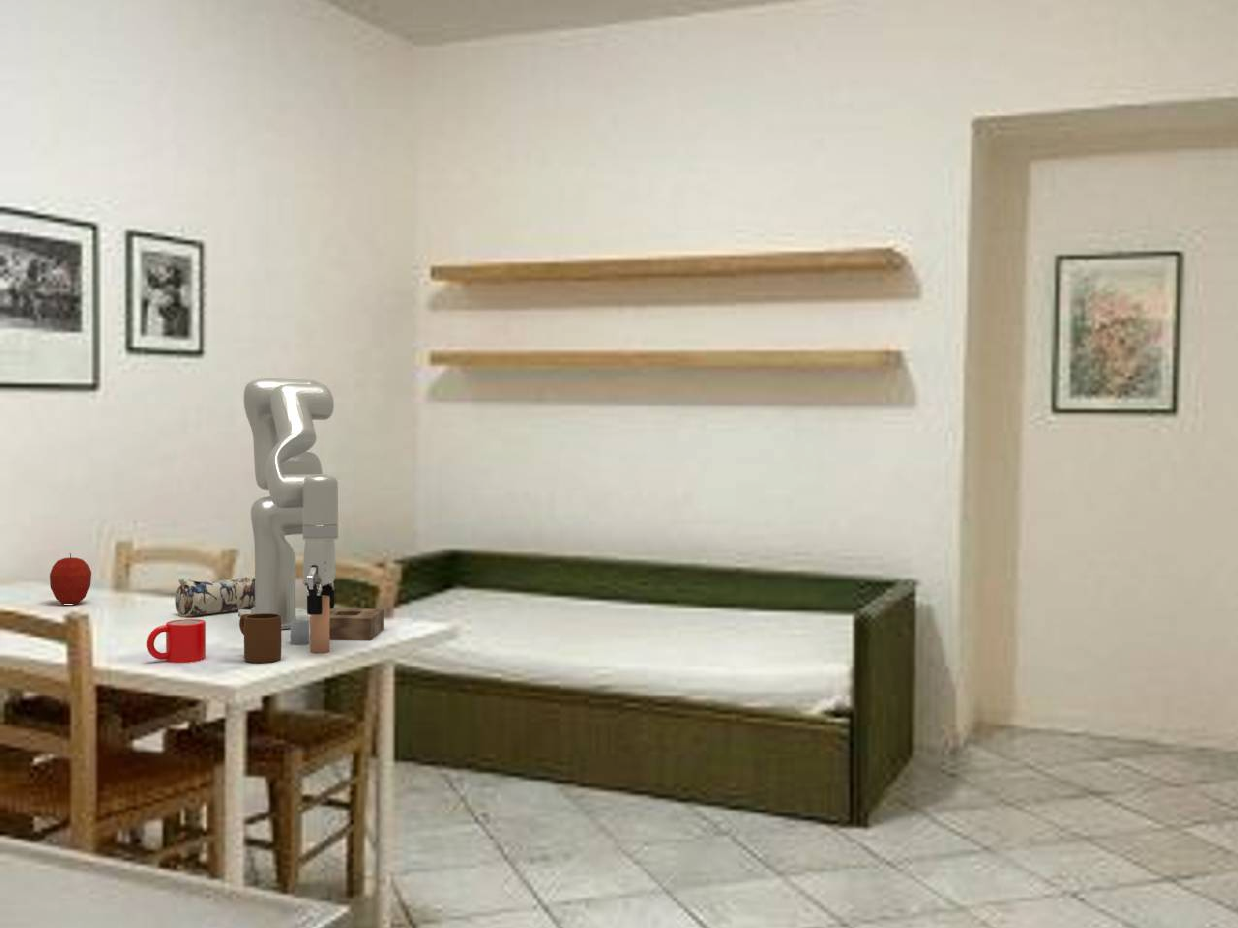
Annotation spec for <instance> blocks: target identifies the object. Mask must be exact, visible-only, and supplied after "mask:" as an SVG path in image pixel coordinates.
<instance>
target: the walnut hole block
mask: <svg viewBox="0 0 1238 928" xmlns="http://www.w3.org/2000/svg"><path fill="white" fill-rule="evenodd" d="M309 617H310V618H309V635H310V634H311V616H309ZM384 629H385V608H361V607H360V608H359V607H358V608H355V607H354V608H350V607H334V608H329V640H337V641H338V640H339V641H341V640H343V641H344V640H345V641H346V640H347V641H372V640H373V639H374V638H376V637H377V636H378V635H380V634H381V632H383V631H384Z"/></svg>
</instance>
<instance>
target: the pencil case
mask: <svg viewBox="0 0 1238 928" xmlns="http://www.w3.org/2000/svg"><path fill="white" fill-rule="evenodd" d="M178 583H179V585H178V587H177V589H176V591H175V610H176V612H177V614H178V615H179V616H181V617H182V618H189V617H199V616H200V617H201V616H206V615H214V614H221V613H229V612H236V611H238V610H239V609H251V608H253V607H255V574H247V575H244V576H242V577H240V578H236V579H221V580H196V579H191V578H188V579H187V580H185V578H178Z"/></svg>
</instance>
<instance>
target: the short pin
mask: <svg viewBox="0 0 1238 928" xmlns="http://www.w3.org/2000/svg"><path fill="white" fill-rule="evenodd" d="M308 644H310V620H308V619H301V620H293V621H291V628H290V645H294V646H304V645H308Z"/></svg>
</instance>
